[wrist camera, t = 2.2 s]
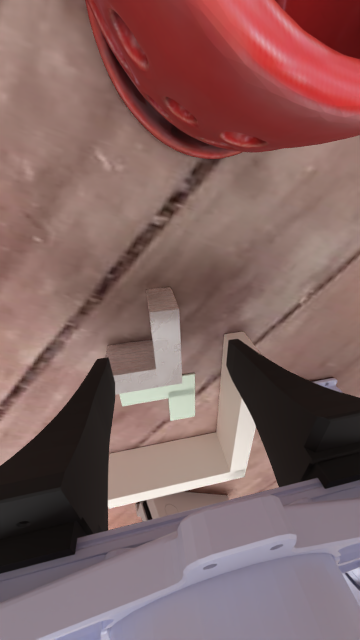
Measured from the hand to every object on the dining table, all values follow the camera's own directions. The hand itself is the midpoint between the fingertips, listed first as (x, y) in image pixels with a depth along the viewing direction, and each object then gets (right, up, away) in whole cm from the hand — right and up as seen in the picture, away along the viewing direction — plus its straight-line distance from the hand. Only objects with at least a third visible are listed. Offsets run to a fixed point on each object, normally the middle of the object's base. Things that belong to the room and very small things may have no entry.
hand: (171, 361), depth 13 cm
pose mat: (-2, -7, +12) cm, 13 cm away
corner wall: (-1, -7, +12) cm, 14 cm away
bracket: (-3, +2, +6) cm, 7 cm away
